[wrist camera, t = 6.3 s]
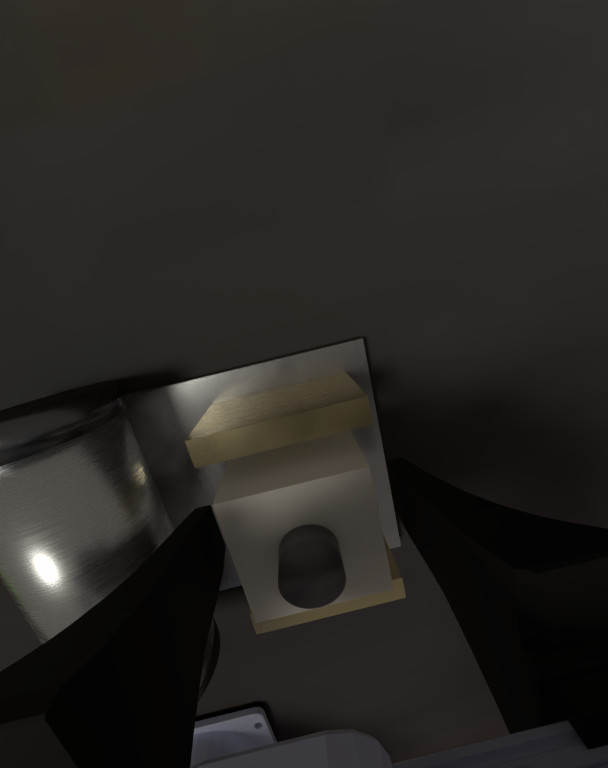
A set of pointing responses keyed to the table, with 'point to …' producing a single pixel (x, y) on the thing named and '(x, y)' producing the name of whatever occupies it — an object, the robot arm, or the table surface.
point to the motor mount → (164, 475)
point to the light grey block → (303, 526)
